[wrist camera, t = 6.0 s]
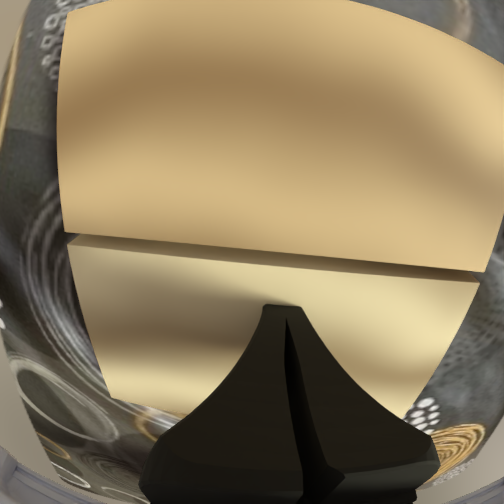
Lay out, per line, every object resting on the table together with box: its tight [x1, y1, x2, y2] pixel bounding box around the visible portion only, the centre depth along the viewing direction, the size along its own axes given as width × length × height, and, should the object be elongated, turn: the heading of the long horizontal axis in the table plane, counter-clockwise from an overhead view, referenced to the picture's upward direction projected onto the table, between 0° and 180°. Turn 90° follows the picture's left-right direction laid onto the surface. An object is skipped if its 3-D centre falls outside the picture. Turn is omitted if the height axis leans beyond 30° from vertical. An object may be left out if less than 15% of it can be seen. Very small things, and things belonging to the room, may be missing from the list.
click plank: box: [67, 234, 480, 418], centre depth 12 cm, size 9×16×2 cm, turn 85°
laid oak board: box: [57, 0, 504, 272], centre depth 8 cm, size 8×16×2 cm, turn 85°
